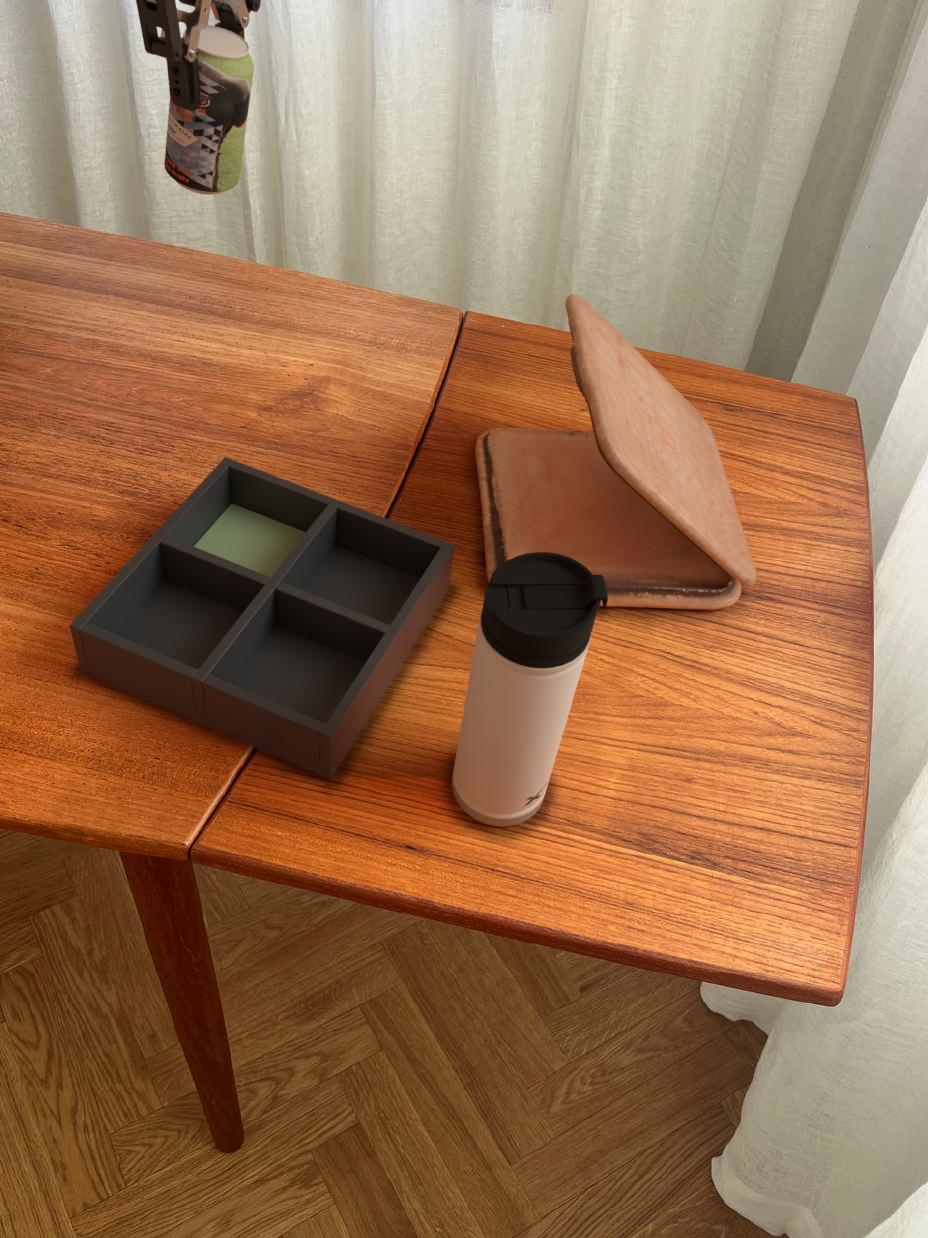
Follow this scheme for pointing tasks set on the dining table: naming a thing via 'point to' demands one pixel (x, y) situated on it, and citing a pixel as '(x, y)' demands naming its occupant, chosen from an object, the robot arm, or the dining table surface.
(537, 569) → the travel mug
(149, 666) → the four compartment organizer
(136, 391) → the dining table surface
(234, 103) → the beverage can
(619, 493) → the case
